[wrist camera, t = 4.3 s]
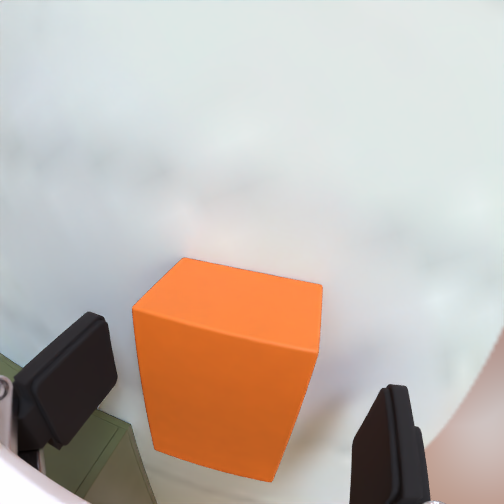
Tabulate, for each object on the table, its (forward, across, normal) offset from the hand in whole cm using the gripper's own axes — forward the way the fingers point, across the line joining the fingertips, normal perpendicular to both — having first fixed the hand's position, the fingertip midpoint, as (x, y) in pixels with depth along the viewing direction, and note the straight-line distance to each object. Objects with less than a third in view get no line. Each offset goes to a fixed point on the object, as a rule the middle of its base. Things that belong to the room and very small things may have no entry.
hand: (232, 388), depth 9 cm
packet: (+2, 0, 0) cm, 2 cm away
